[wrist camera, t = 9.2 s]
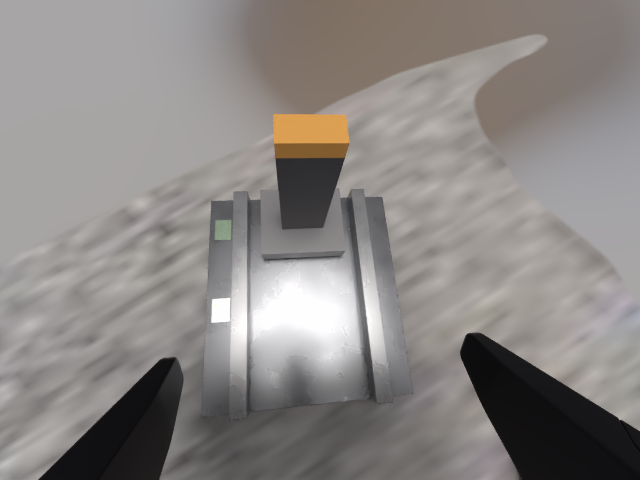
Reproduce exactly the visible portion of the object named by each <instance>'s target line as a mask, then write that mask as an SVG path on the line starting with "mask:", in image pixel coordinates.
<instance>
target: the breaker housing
mask: <svg viewBox="0 0 640 480" xmlns="http://www.w3.org/2000/svg"><path fill="white" fill-rule="evenodd" d="M340 201H341V211H342V220H343V230H344V239H345V248H346V251H345V252H344V254H343V255H342V256H322V257H301V258H281V259H263V258H262V255H261V200H250V198H249V195H248V192H247V191H242V192H234V200H233V201H211V221H210V243H209V264H208V285H207V307H206V328H205V350H204V371H203V392H202V414H201V417H207V416H216V415H225V414H229V421H230V420H239V419H246V418H247V416H248V415H249V413H250V412H253V411H262V410H271V409H280V408H289V407H298V406H307V405H316V404H325V403H334V402H343V401H353V400H362V399H372V400H373V401H374V402H375V403H377V404H381V403H390V402H392V396H398V395H407V394H413V390H412V384H411V378H410V371H409V365H408V358H407V352H406V346H405V339H404V333H403V327H402V320H401V314H400V307H399V301H398V295H397V288H396V282H395V276H394V269H393V263H392V256H391V250H390V244H389V237H388V231H387V225H386V218H385V212H384V206H383V199H382V197H365V196H364V189H351V191H350V193H349V196H348V198H340Z"/></svg>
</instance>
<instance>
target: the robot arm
mask: <svg viewBox="0 0 640 480" xmlns="http://www.w3.org/2000/svg"><path fill="white" fill-rule="evenodd" d="M460 356H461V359H462V361H463V364H464V366H465V368H466V370H467V373H468V375H469V377H470V380H471V382H472V384H473V386H474V389H475V391H476V393H477V396H478V398H479V400H480V402H481V404H482V406H483V408H484V410H485V412H486V414H487V416H488V417H489V419H490V421H491V423H492V425H493V427H494V428H495V430H496V432H497V434H498V436H499V437H500V439H501V441H502V443H503V445H504V447H505V448H506V450H507V452H508V454H509V456H510V457H511V459H512V461H513V463H514V465H515V467H516V468H517V470H518V472H519V474H520V476H521V477H522V479H523V480H640V431H639V430H637V429H635V428H634V427H632V426H630V425H629V424H627V423H626V422H624V421H622V420H619V419H618V418H617V417H616V416H614V415H613V414H611V413H609V412H608V411H606V410H605V409H603V408H601V407H600V406H598V405H596V404H595V403H593V402H592V401H590V400H588V399H587V398H585V397H584V396H582V395H580V394H579V393H577V392H575V391H574V390H572V389H571V388H569V387H567V386H566V385H564V384H563V383H561V382H559V381H558V380H556V379H554V378H553V377H551V376H550V375H548V374H546V373H545V372H543V371H542V370H540V369H538V368H537V367H535V366H533V365H532V364H530V363H529V362H527V361H525V360H524V359H522V358H521V357H519V356H517V355H516V354H514V353H512V352H511V351H509V350H508V349H506V348H504V347H503V346H501V345H500V344H498V343H496V342H495V341H493V340H491V339H490V338H488V337H487V336H485V335H483V334H482V333H468V334H467V335H466V336H465V338H464V341H463V344H462V347H461V350H460ZM182 387H183V373H182V370H181V367H180V363H179V360H178V359H177V358H176V357H171V358H163V359H161V360H159V361H158V362H157V363H156V364H155V365H154V366H153V367H152V368H151V369H150V370H149V371H148V372H147V373H146V374H145V375H144V376H143V377H142V378H141V379H140V380H139V381H138V382H137V383H136V384H135V385H134V386H133V387H132V388H131V389H130V390H129V391H128V392H127V393H126V394H125V395H124V396H123V397H122V398H121V399H120V400H119V401H118V402H117V403H116V404H115V405H114V406H112V407H111V408H110V409H109V410H108V411H107V412H106V413H105V414H104V415H103V416H102V417H101V418H100V419H99V420H98V421H97V422H96V423H95V424H94V425H93V426H92V427H91V428H90V429H89V430H88V431H87V432H86V433H85V434H84V435H83V436H82V437H81V438H80V439H79V440H78V441H77V442H76V443H75V444H74V445H73V446H72V447H71V448H70V449H69V450H68V451H67V452H66V453H65V454H64V455H63V456H62V457H61V458H60V459H59V460H58V461H57V462H56V463H55V464H54V465H53V466H52V467H51V468H50V469H49V470H48V471H47V472H46V473H45V474H43V475H42V476H41V477H40V478H39V479H38V480H159V478H160V475H161V472H162V469H163V466H164V462H165V459H166V456H167V453H168V450H169V446H170V443H171V439H172V434H173V430H174V425H175V420H176V415H177V411H178V406H179V401H180V396H181V391H182Z"/></svg>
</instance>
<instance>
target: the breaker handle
mask: <svg viewBox="0 0 640 480" xmlns="http://www.w3.org/2000/svg"><path fill="white" fill-rule="evenodd" d="M273 118H274V147H275V157H276V168H277V179H278V190H261V255H262V258H263V259H281V258H301V257H322V256H342V255H343V254H344V252H345V251H346V248H345V239H344V230H343V220H342V211H341V201H340V192H339V189H335V188H336V185H337V182H338V178H339V175H340V172H341V169H342V165H343V162H344V159H345V156H346V153H347V149H348V146H349V136H348V128H347V120H346V115H302V114H301V115H298V114H297V115H296V114H274V115H273Z"/></svg>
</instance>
